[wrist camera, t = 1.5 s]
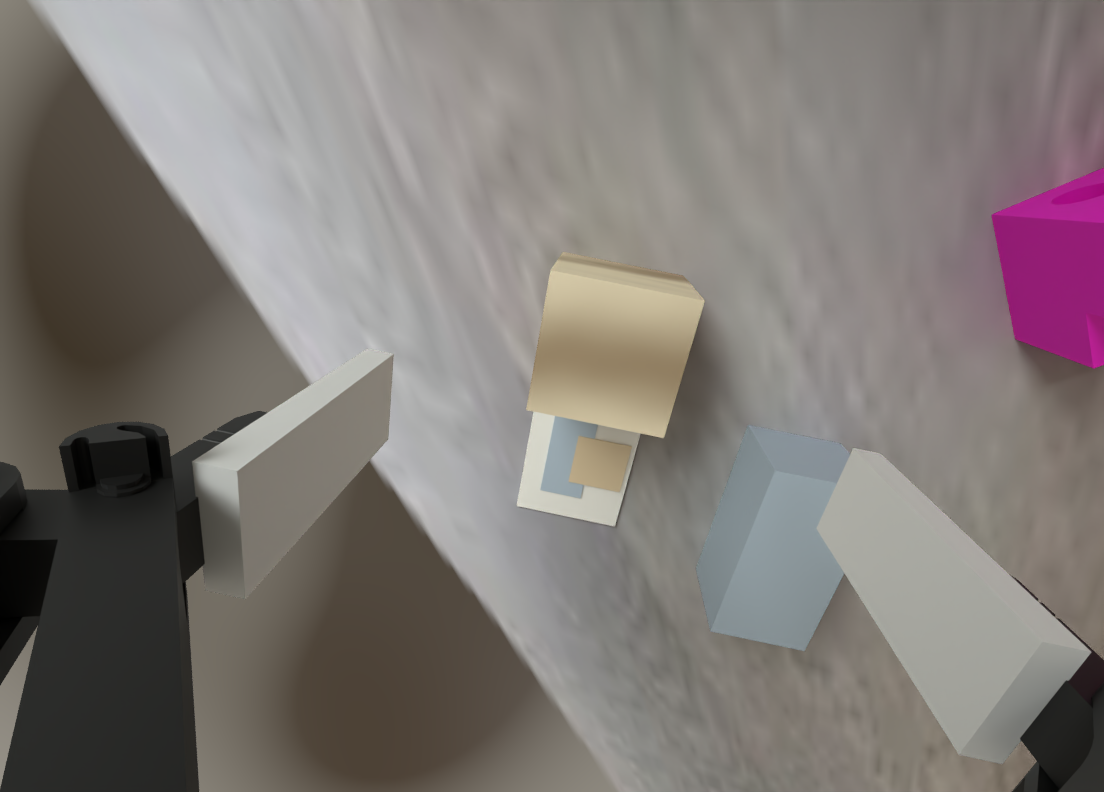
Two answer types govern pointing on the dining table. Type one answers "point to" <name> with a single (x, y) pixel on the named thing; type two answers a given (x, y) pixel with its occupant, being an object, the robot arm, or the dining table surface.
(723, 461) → the dining table surface
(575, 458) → the tile
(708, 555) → the blue brick
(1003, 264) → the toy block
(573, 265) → the maple cube
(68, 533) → the robot arm
